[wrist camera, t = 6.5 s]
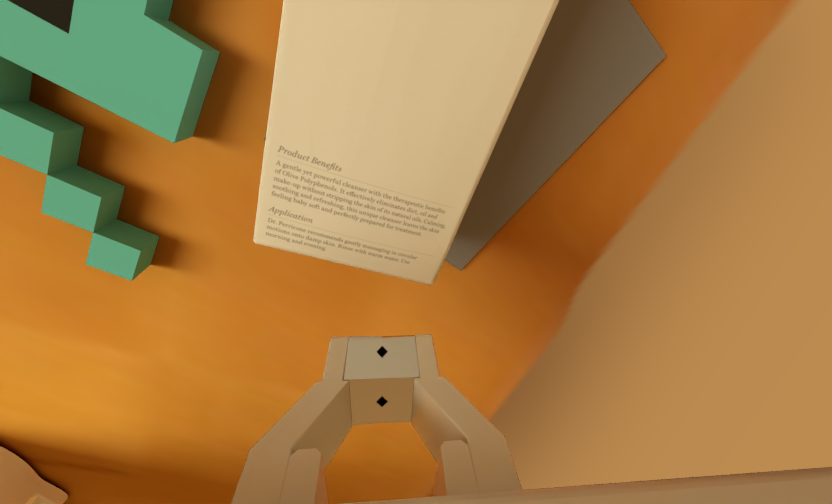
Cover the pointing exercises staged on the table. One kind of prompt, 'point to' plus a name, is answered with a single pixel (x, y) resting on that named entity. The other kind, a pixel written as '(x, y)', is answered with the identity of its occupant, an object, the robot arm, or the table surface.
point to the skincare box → (388, 124)
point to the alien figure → (105, 86)
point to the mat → (557, 109)
